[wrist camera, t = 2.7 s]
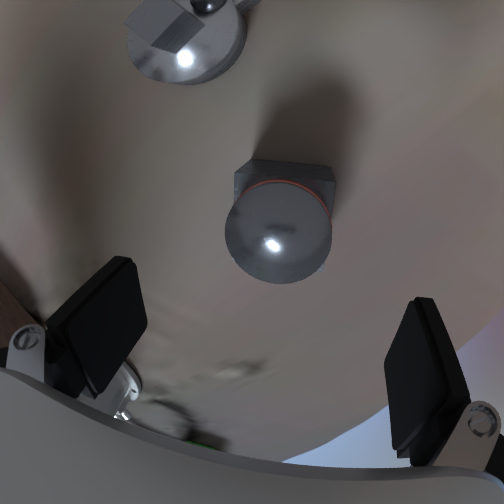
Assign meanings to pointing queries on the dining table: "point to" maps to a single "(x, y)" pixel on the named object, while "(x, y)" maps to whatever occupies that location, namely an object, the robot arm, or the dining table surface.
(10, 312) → the tissue box cover
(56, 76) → the dining table surface
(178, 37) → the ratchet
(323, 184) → the grey domed block
